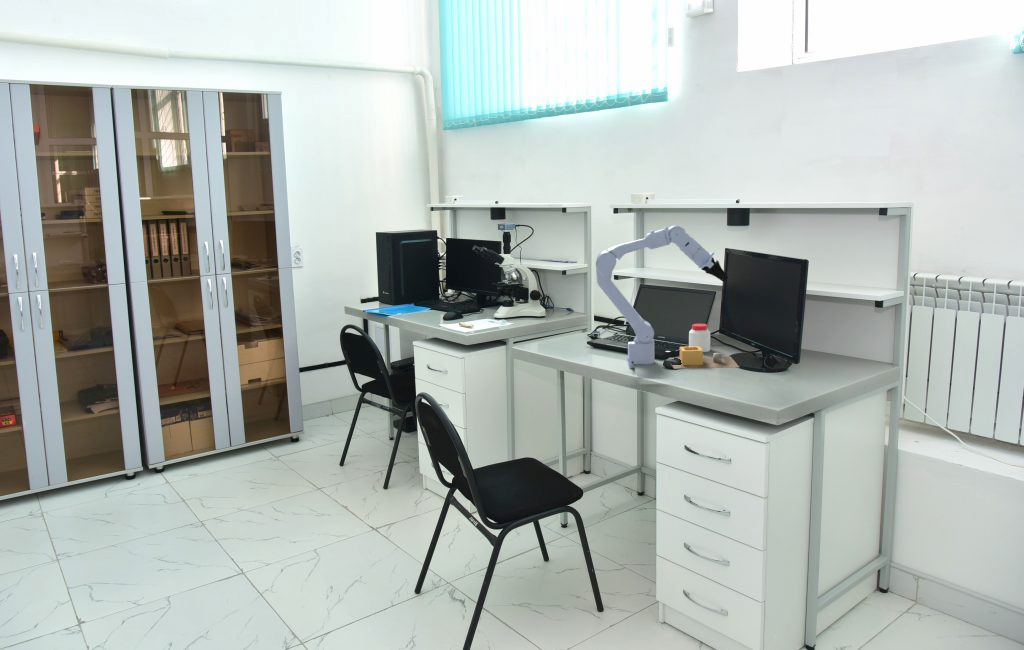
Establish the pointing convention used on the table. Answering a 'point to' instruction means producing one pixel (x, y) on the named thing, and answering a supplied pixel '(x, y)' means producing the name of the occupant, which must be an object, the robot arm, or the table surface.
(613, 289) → the robot arm
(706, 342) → the pill bottle
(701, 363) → the orange open box
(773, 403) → the table surface
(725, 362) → the keeper board
